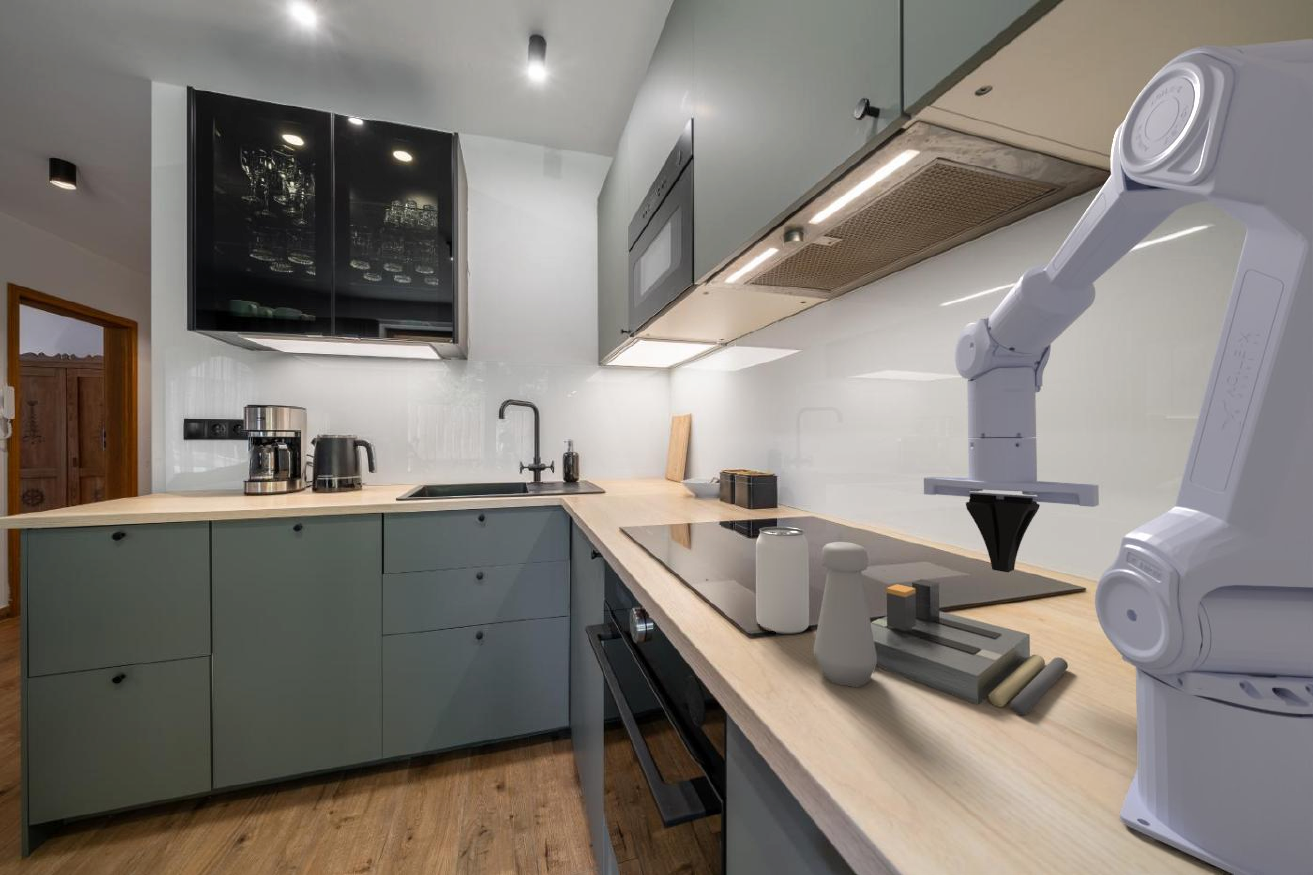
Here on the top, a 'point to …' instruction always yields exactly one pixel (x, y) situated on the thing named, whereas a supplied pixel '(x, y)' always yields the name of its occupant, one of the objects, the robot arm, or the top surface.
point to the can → (782, 580)
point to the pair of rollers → (1033, 689)
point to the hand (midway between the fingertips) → (1003, 569)
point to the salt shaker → (845, 618)
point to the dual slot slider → (949, 649)
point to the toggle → (901, 607)
